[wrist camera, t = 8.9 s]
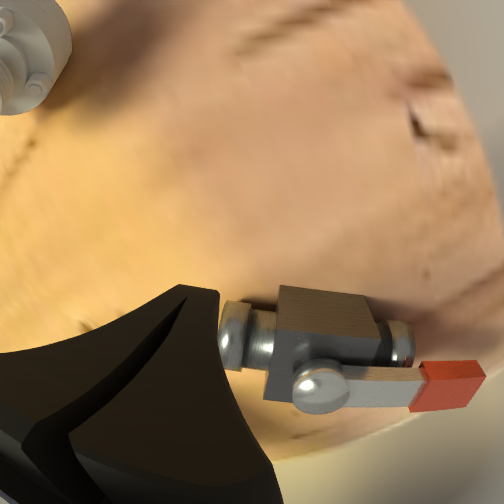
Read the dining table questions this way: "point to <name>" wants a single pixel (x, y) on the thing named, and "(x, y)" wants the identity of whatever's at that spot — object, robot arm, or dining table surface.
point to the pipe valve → (309, 336)
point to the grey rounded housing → (31, 52)
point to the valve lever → (385, 386)
